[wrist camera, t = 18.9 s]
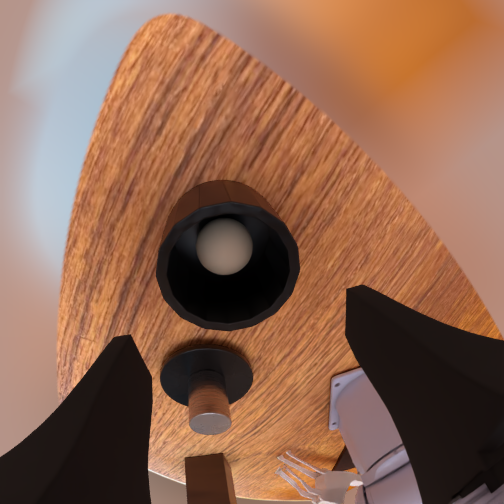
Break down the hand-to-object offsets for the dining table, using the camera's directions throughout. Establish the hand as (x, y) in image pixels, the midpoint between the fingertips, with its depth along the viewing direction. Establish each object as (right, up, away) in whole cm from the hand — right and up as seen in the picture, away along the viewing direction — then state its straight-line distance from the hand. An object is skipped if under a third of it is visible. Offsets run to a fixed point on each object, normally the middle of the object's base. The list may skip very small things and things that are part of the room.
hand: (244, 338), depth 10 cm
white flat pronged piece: (+10, -25, +23) cm, 36 cm away
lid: (-3, -7, +12) cm, 14 cm away
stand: (-5, -22, +19) cm, 29 cm away
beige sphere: (-1, +3, +7) cm, 7 cm away
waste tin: (-2, +4, +8) cm, 9 cm away
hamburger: (+18, -24, +25) cm, 39 cm away
